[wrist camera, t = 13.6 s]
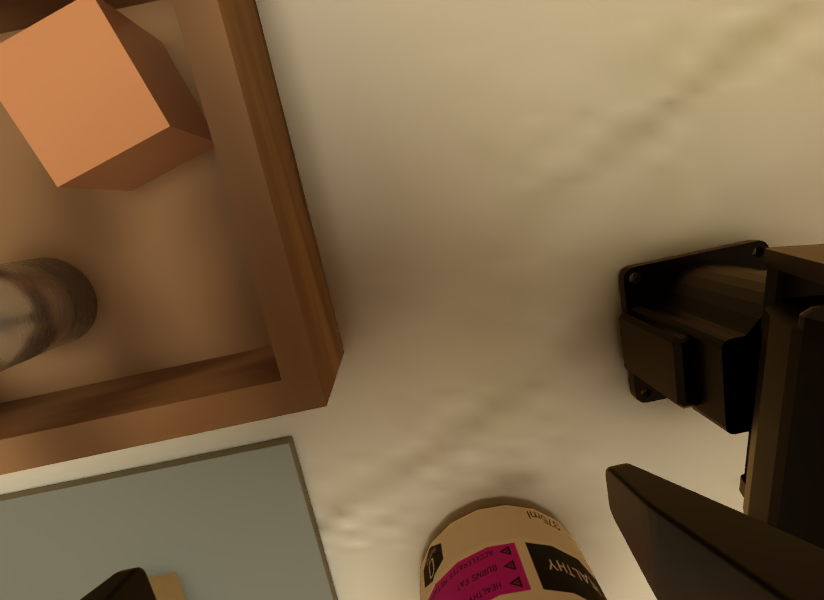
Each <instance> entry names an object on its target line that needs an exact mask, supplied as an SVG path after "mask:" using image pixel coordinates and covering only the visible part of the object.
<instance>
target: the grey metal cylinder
mask: <svg viewBox="0 0 824 600" xmlns="http://www.w3.org/2000/svg"><path fill="white" fill-rule="evenodd" d="M97 310H98V303H97V297H96V294H95V291H94V289H93V286H92V285H91V283H90V281H89V280H88V279H87V277H86V276H85V275H84V274H83V273H82V272H81V271H80V270H78V269H77V268H76V267H74V266H73V265H71V264H69V263H67V262H65V261H62V260H60V259H55V258H48V257H41V258H34V259H27V260H21V261H14V262H8V263H1V264H0V372H1V371H3V370H5V369H8V368H10V367H12V366H15V365H17V364H19V363H22V362H24V361H26V360H29V359H31V358H33V357H36V356H38V355H40V354H43V353H45V352H47V351H50V350H52V349H54V348H57V347H59V346H61V345H64V344H66V343H68V342H71V341H73V340H75V339H78V338H80V337H81V336H83V335H84V334H85V333H87V332H88V330H89V329H90V328H91V327H92V325H93V324H94V321H95V319H96V316H97Z"/></svg>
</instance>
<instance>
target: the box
mask: <svg viewBox="0 0 824 600" xmlns="http://www.w3.org/2000/svg"><path fill="white" fill-rule="evenodd" d="M74 1H76V0H0V43H2V42H4V41H5V40H7V39H9V38H11V37H12V36H14V35H16V34H18V33H19V32H21V31H23V30H25V29H26V28H28V27H30V26H32V25H33V24H35V23H37V22H39V21H40V20H42V19H44V18H46V17H47V16H49V15H51V14H53V13H54V12H56V11H58V10H60V9H62V8H63V7H65V6H67V5H69V4H70V3H72V2H74ZM103 1H104V2H106V3H107V4H109V5H110V6H111V7H113V8H114V9H116V10H117V11H119V12H120V13H121V14H123V15H124V16H126V17H127V18H128V19H130V20H131V21H133V22H134V23H136V24H137V25H138V26H140V27H141V28H143V29H144V30H145V31H147V32H148V33H150V34H151V35H153V36H154V37H155V38H157V39H158V40H160V41H161V42H162V43H163V45H164V46H165V48H166V50H167V52H168V53H169V55H170V57H171V59H172V61H173V62H174V64H175V66H176V68H177V69H178V71H179V73H180V75H181V76H182V78H183V80H184V82H185V83H186V85H187V87H188V89H189V90H190V92H191V94H192V96H193V97H194V99H195V101H196V103H197V104H198V106H199V108H200V110H201V111H202V113H203V115H204V117H205V118H206V120H207V123H208V127H209V130H210V134H211V137H212V141H213V144H214V147H213V148H211V149H209V150H208V151H206V152H204V153H202V154H200V155H198V156H196V157H195V158H193V159H191V160H189V161H187V162H185V163H183V164H181V165H180V166H178V167H176V168H174V169H172V170H170V171H168V172H167V173H165V174H163V175H161V176H159V177H157V178H155V179H154V180H152V181H150V182H148V183H146V184H144V185H142V186H141V187H139V188H137V189H135V190H133V191H122V190H102V189H83V188H63V187H57V186H56V184H55V183H54V181H53V180H52V178H51V177H50V175H49V174H48V172H47V171H46V169H45V168H44V166H43V165H42V163H41V161H40V160H39V158H38V157H37V155H36V154H35V152H34V151H33V149H32V148H31V146H30V145H29V143H28V142H27V140H26V139H25V137H24V136H23V134H22V133H21V131H20V130H19V128H18V127H17V125H16V124H15V122H14V121H13V119H12V118H11V116H10V115H9V113H8V112H7V110H6V109H5V107H4V106H3V104H2V103H1V101H0V264H1V263H8V262H14V261H21V260H27V259H34V258H41V257H48V258H55V259H60V260H62V261H65V262H67V263H69V264H71V265H73V266H74V267H76V268H77V269H78V270H80V271H81V272H82V273H83V274H84V275H85V276H86V277H87V279H88V280H89V281H90V283H91V285H92V286H93V289H94V291H95V294H96V297H97V303H98V310H97V316H96V319H95V321H94V324H93V325H92V327H91V328H90V329H89V330H88V332H87V333H85V334H84V335H83V336H81V337H80V338H78V339H75V340H73V341H71V342H68V343H66V344H64V345H61V346H59V347H57V348H54V349H52V350H50V351H47V352H45V353H43V354H40V355H38V356H36V357H33V358H31V359H29V360H26V361H24V362H22V363H19V364H17V365H15V366H12V367H10V368H8V369H5V370H3V371H1V372H0V475H2V474H7V473H12V472H17V471H21V470H26V469H31V468H35V467H40V466H45V465H50V464H54V463H59V462H64V461H69V460H73V459H78V458H83V457H88V456H92V455H97V454H102V453H106V452H111V451H116V450H121V449H125V448H130V447H135V446H140V445H144V444H149V443H154V442H159V441H163V440H168V439H173V438H177V437H182V436H187V435H192V434H196V433H201V432H206V431H211V430H215V429H220V428H225V427H229V426H234V425H239V424H244V423H248V422H253V421H258V420H263V419H267V418H272V417H277V416H282V415H286V414H291V413H296V412H300V411H305V410H310V409H315V408H319V407H324V406H327V403H328V400H329V397H330V394H331V391H332V388H333V385H334V381H335V378H336V375H337V372H338V369H339V366H340V363H341V360H342V357H343V354H344V351H343V347H342V343H341V339H340V335H339V331H338V327H337V323H336V319H335V315H334V311H333V307H332V303H331V299H330V295H329V291H328V287H327V283H326V279H325V275H324V271H323V267H322V263H321V259H320V256H319V252H318V248H317V244H316V240H315V236H314V232H313V228H312V224H311V220H310V216H309V212H308V208H307V204H306V200H305V196H304V192H303V188H302V184H301V180H300V176H299V172H298V168H297V164H296V160H295V156H294V153H293V149H292V145H291V141H290V137H289V133H288V129H287V125H286V121H285V117H284V113H283V109H282V105H281V101H280V97H279V93H278V89H277V85H276V81H275V77H274V73H273V69H272V65H271V61H270V57H269V54H268V50H267V46H266V42H265V38H264V34H263V30H262V26H261V22H260V18H259V14H258V10H257V6H256V2H255V0H103Z"/></svg>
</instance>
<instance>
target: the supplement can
mask: <svg viewBox="0 0 824 600" xmlns="http://www.w3.org/2000/svg"><path fill="white" fill-rule="evenodd" d="M420 600H607V599H606V597H605V595H604V593H603V592H602V590H601V588H600V586H599V584H598V582H597V581H596V579H595V577H594V575H593V573H592V571H591V570H590V568H589V566H588V564H587V562H586V560H585V559H584V557H583V555H582V553H581V551H580V549H579V548H578V546H577V544H576V542H575V540H574V539H573V538H572V537H571V536H570V535H569V533H568V532H567V531H566V530H565V529H564V528H563V526H562V525H561V524H560V523H559V522H558V521H556V520H554V519H552V518H551V517H549V516H547V515H545V514H543V513H541V512H539V511H537V510H535V509H531V508H523V507H516V506H509V505H503V506H497V507H491V508H485V509H479V510H476V511H474V512H472V513H470V514H468V515H466V516H464V517H462V518H460V519H458V520H456V521H454V522H452V523H450V524H449V525H448V526H447V527H446V528H445V529H444V530H443V531H442V533H441V534H440V535H439V536H438V537H437V538H436V539H435V540H434V541H433V542H432V543H431V544H430V546H429V549H428V551H427V553H426V555H425V558H424V560H423V562H422V564H421V567H420Z"/></svg>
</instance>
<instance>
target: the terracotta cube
mask: <svg viewBox="0 0 824 600" xmlns="http://www.w3.org/2000/svg"><path fill="white" fill-rule="evenodd" d="M0 101H1V103H2V104H3V106H4V107H5V109H6V110H7V112H8V113H9V115H10V116H11V118H12V119H13V121H14V122H15V124H16V125H17V127H18V128H19V130H20V131H21V133H22V134H23V136H24V137H25V139H26V140H27V142H28V143H29V145H30V146H31V148H32V149H33V151H34V152H35V154H36V155H37V157H38V158H39V160H40V161H41V163H42V165H43V166H44V168H45V169H46V171H47V172H48V174H49V175H50V177H51V178H52V180H53V181H54V183H55V184H56V186H57V187H63V188H83V189H102V190H122V191H133V190H135V189H137V188H139V187H141V186H142V185H144V184H146V183H148V182H150V181H152V180H154V179H155V178H157V177H159V176H161V175H163V174H165V173H167V172H168V171H170V170H172V169H174V168H176V167H178V166H180V165H181V164H183V163H185V162H187V161H189V160H191V159H193V158H195V157H196V156H198V155H200V154H202V153H204V152H206V151H208V150H209V149H211V148H213V147H214V144H213V141H212V137H211V134H210V130H209V127H208V123H207V120H206V118H205V117H204V115H203V113H202V111H201V110H200V108H199V106H198V104H197V103H196V101H195V99H194V97H193V96H192V94H191V92H190V90H189V89H188V87H187V85H186V83H185V82H184V80H183V78H182V76H181V75H180V73H179V71H178V69H177V68H176V66H175V64H174V62H173V61H172V59H171V57H170V55H169V53H168V52H167V50H166V48H165V46H164V45H163V43H162V42H161V41H160V40H158V39H157V38H155V37H154V36H153V35H151V34H150V33H148V32H147V31H145V30H144V29H143V28H141V27H140V26H138V25H137V24H136V23H134V22H133V21H131V20H130V19H128V18H127V17H126V16H124V15H123V14H121V13H120V12H119V11H117V10H116V9H114V8H113V7H111V6H110V5H109V4H107V3H106V2H104V1H103V0H76V1H74V2H72V3H70V4H69V5H67V6H65V7H63V8H62V9H60V10H58V11H56V12H54V13H53V14H51V15H49V16H47V17H46V18H44V19H42V20H40V21H39V22H37V23H35V24H33V25H32V26H30V27H28V28H26V29H25V30H23V31H21V32H19V33H18V34H16V35H14V36H12V37H11V38H9V39H7V40H5V41H4V42H2V43H0Z"/></svg>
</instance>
